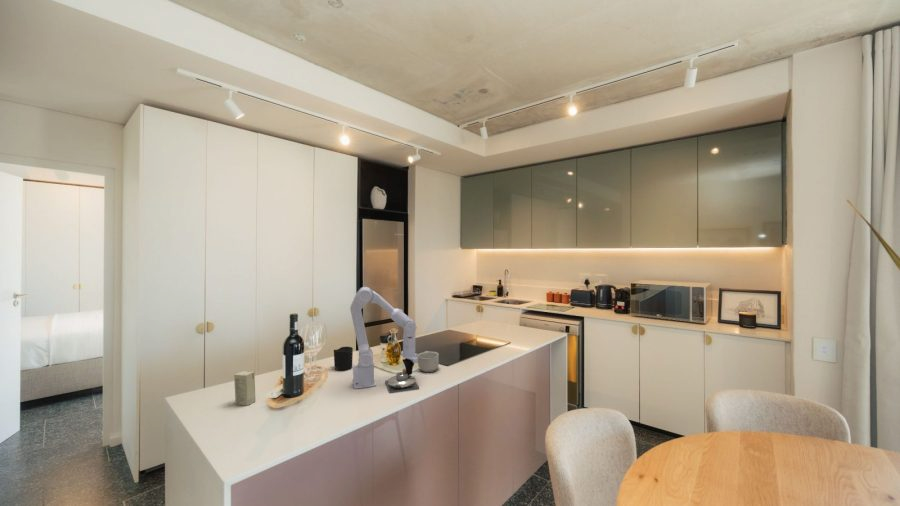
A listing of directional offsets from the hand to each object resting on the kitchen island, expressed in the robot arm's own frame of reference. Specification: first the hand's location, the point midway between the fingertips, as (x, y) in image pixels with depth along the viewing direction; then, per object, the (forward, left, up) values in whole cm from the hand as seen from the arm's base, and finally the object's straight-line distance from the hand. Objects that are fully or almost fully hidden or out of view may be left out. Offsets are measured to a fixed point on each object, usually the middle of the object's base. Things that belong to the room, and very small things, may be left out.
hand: (409, 374), depth 166 cm
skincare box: (-67, -1, -3) cm, 68 cm away
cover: (-4, -5, 0) cm, 7 cm away
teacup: (+13, +12, -3) cm, 18 cm away
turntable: (-4, -4, -1) cm, 6 cm away
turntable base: (-4, -5, -3) cm, 7 cm away
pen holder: (-28, +28, -3) cm, 40 cm away
